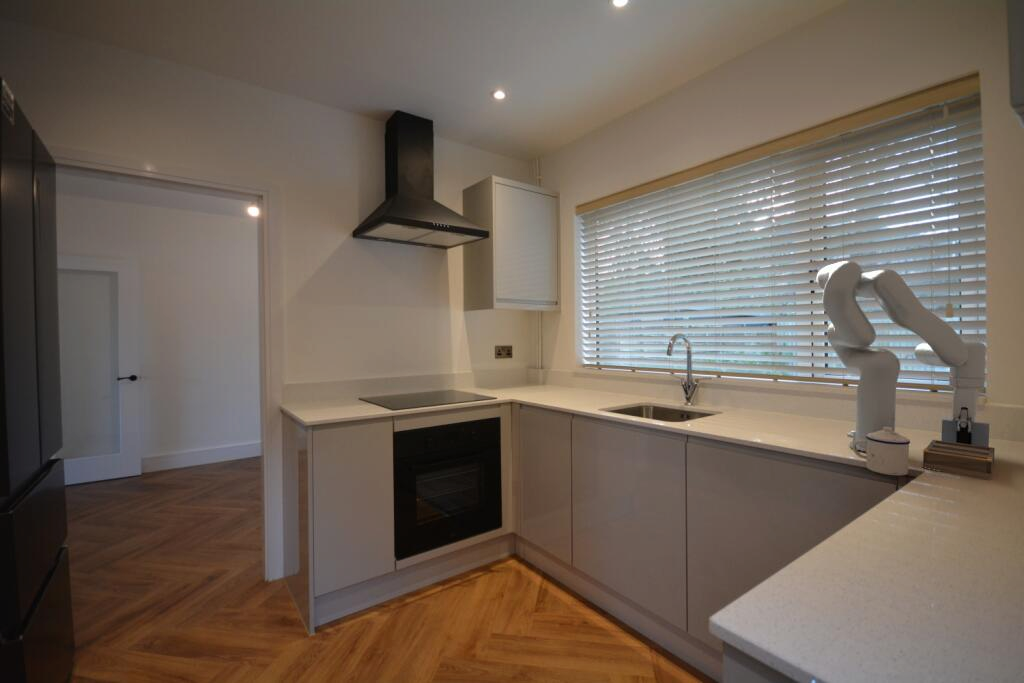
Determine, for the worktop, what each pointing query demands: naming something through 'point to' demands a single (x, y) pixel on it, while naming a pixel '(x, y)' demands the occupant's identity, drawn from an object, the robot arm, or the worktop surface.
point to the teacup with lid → (886, 452)
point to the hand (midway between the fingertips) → (964, 442)
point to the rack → (959, 458)
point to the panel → (978, 431)
